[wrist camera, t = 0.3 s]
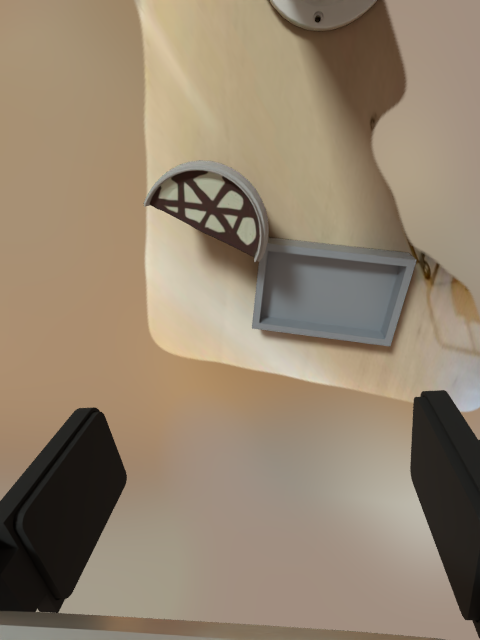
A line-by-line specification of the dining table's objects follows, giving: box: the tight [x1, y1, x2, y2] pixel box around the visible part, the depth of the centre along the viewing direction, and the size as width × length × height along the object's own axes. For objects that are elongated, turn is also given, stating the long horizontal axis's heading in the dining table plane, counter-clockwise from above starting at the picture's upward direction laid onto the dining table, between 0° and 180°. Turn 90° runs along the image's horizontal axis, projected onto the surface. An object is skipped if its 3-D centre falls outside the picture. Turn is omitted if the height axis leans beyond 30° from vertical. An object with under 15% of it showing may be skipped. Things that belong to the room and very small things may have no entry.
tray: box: [252, 237, 417, 346], centre depth 43 cm, size 11×17×3 cm, turn 85°
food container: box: [144, 160, 269, 262], centre depth 36 cm, size 12×6×10 cm, turn 64°
